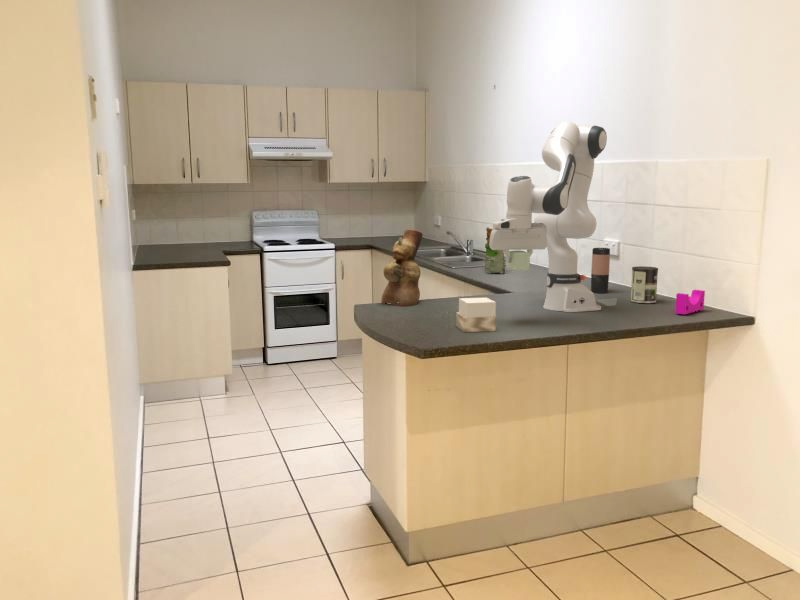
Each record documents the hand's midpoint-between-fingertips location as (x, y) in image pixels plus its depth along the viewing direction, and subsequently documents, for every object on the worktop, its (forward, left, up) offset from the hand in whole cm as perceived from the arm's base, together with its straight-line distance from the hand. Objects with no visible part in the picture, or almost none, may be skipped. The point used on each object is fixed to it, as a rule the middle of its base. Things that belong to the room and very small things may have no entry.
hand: (517, 262), depth 247 cm
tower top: (+17, +9, -17) cm, 25 cm away
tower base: (+17, +9, -22) cm, 29 cm away
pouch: (-29, -127, -22) cm, 132 cm away
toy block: (-72, -11, -22) cm, 76 cm away
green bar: (0, 0, -2) cm, 2 cm away
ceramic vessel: (+33, -44, -22) cm, 60 cm away
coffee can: (-66, -32, -22) cm, 76 cm away
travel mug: (-57, -55, -22) cm, 82 cm away
